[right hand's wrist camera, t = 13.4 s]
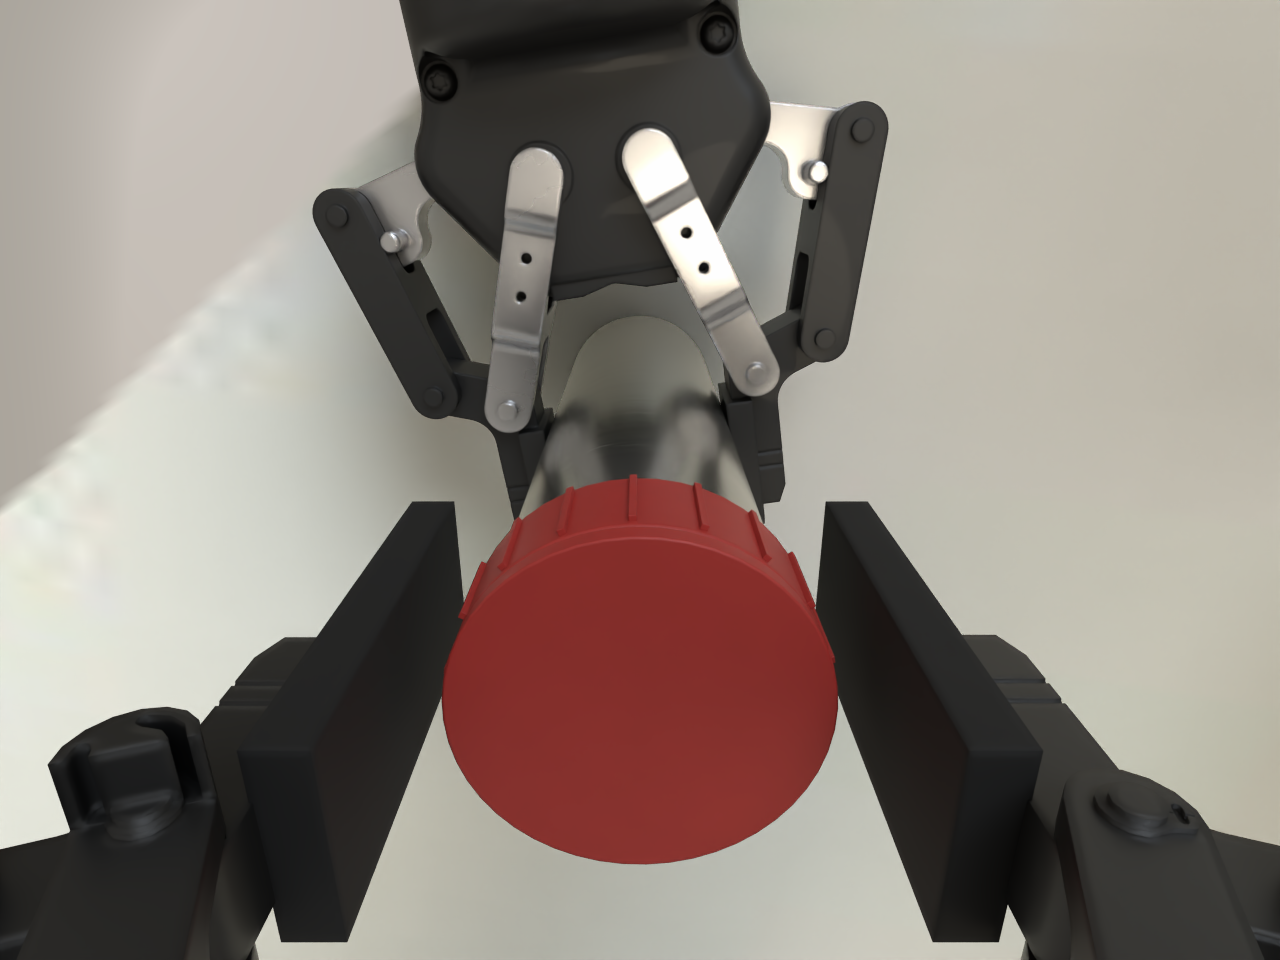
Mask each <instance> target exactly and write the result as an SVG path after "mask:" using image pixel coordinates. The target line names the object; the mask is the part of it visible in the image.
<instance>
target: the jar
mask: <svg viewBox="0 0 1280 960" xmlns="http://www.w3.org/2000/svg"><path fill="white" fill-rule="evenodd" d="M633 474H637V478H644V479H661V480H668V481H675V482H681V483H685V484H688V485H692V486H693V485H694V482H697V483H700V484H701V485H702V489H705V490H707V491H710V492H712V493H715V494H717V495H719V496H722V497H724V498H726V499H728V500H729V501H731V502H733V503H734V504H736V505H738V506H740V507H741V508H743V509H745V510H746V511H747V512H749V511H750V510H751V509H752V510H753V511H755V512H756V513H757V515H758V518H759V521H760V522H761V523H762V524H763V522H762V520H761V517H760V514H759V511H758V508H757V506H756V503H755V500H754V497H753V494H752V492H751V489H750V486H749V483H748V480H747V478H746V475H745V472H744V469H743V466H742V464H741V461H740V458H739V455H738V452H737V450H736V447H735V444H734V441H733V438H732V436H731V433H730V430H729V427H728V425H727V422H726V419H725V416H724V413H723V411H722V408H721V405H720V402H719V399H718V397H717V394H716V391H715V388H714V385H713V383H712V380H711V377H710V374H709V371H708V369H707V366H706V363H705V360H704V357H703V355H702V353H701V351H700V349H699V348H698V346H697V345H696V343H695V342H694V341H693V340H692V338H691V337H690V336H689V335H688V334H687V333H685V332H684V331H683V330H682V329H681V328H679V327H677V326H676V325H674V324H673V323H670V322H668V321H666V320H663V319H660V318H657V317H651V316H639V315H637V316H628V317H623V318H619V319H617V320H614V321H611V322H609V323H607V324H606V325H604V326H602V327H601V328H599V329H598V330H597V331H595V332H594V333H593V334H592V335H591V336H590V337H589V338H588V339H587V341H586V342H585V343H584V344H583V346H582V347H581V349H580V351H579V352H578V355H577V357H576V359H575V362H574V365H573V368H572V370H571V373H570V376H569V379H568V382H567V384H566V387H565V390H564V393H563V395H562V398H561V401H560V404H559V407H558V409H557V412H556V415H555V418H554V421H553V423H552V426H551V429H550V432H549V435H548V437H547V440H546V443H545V446H544V449H543V451H542V454H541V457H540V460H539V463H538V465H537V468H536V471H535V474H534V476H533V479H532V482H531V485H530V488H529V490H528V493H527V496H526V499H525V502H524V504H523V507H522V510H521V513H520V516H519V518H520V519H522V520H523V519H524V518H525V517H526V516H527V515H529V514H530V513H532V512H533V511H534V510H536V509H537V508H539V507H540V506H542V505H543V504H545V503H547V502H549V501H551V500H553V499H555V498H557V497H559V496H561V495H563V494H564V493H565V492H566V488H569V487H571V486H573V488H574V490H576V489H578V488H581V487H584V486H587V485H591V484H596V483H601V482H605V481H610V480H620V479H629V476H630V475H633Z"/></svg>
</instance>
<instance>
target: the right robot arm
mask: <svg viewBox="0 0 1280 960" xmlns="http://www.w3.org/2000/svg"><path fill="white" fill-rule="evenodd" d="M463 604H464V600H463V590H462V579H461V568H460V558H459V547H458V536H457V526H456V515H455V505H454V502H412V503H411V504H410V506H409V507H408V508H407V510H406V511H405V513H404V514H403V516H402V517H401V518H400V520H399V521H398V523H397V524H396V525H395V527H394V528H393V530H392V531H391V533H390V534H389V535H388V537H387V538H386V540H385V541H384V542H383V544H382V545H381V547H380V548H379V550H378V551H377V552H376V554H375V555H374V557H373V558H372V559H371V561H370V562H369V564H368V565H367V567H366V568H365V569H364V571H363V572H362V574H361V575H360V576H359V578H358V579H357V581H356V582H355V584H354V585H353V586H352V588H351V589H350V591H349V592H348V594H347V595H346V596H345V598H344V599H343V601H342V602H341V603H340V605H339V606H338V608H337V609H336V611H335V612H334V613H333V615H332V616H331V618H330V619H329V620H328V622H327V623H326V625H325V626H324V628H323V629H322V630H321V632H320V633H319V635H318V636H317V637H285V638H283V639H282V640H280V641H279V642H277V643H276V644H274V645H273V646H271V647H270V648H268V649H267V650H265V651H264V652H262V653H261V654H259V655H258V656H256V657H255V658H254V659H253V660H252V661H251V662H250V664H249V665H248V666H247V667H246V669H245V670H244V671H243V672H242V674H241V675H240V676H239V677H238V679H237V680H236V681H235V686H231V687H230V689H229V690H228V691H227V692H226V694H225V695H224V696H223V697H222V698H221V700H220V701H219V702H220V703H219V706H215V707H214V708H213V710H212V711H211V712H210V713H209V715H208V716H207V717H206V718H205V720H204V721H203V722H202V723H201V725H200V722H199V719H197V718H196V717H195V716H193V715H192V714H191V713H190V712H188V711H187V710H181V709H176V708H171V707H160V708H148V709H140V710H136V711H133V712H129V713H126V714H122V715H118V716H115V717H112V718H110V719H108V720H106V721H103V722H101V723H99V724H97V725H95V726H93V727H91V728H89V729H86V730H85V731H83V732H82V733H80V734H79V735H78V736H76V737H75V738H73V739H72V740H71V741H69V742H68V743H67V744H65V745H64V746H62V747H61V749H60V750H59V751H58V752H57V754H56V755H55V756H54V757H53V759H52V760H51V761H50V762H49V764H48V767H49V770H50V773H51V776H52V779H53V782H54V785H55V788H56V791H57V793H58V796H59V799H60V802H61V805H62V808H63V811H64V814H65V817H66V819H67V822H68V825H69V828H70V832H69V833H67V834H63V835H60V836H57V837H52V838H48V839H44V840H39V841H35V842H30V843H26V844H22V845H17V846H13V847H9V848H4V849H0V960H259V958H258V953H257V949H256V945H255V941H256V939H257V937H258V935H259V933H260V931H261V929H262V927H263V925H264V923H265V921H266V919H267V917H268V915H269V913H270V911H271V909H272V908H273V909H274V914H275V918H276V922H277V926H278V931H279V935H280V939H281V942H347V941H348V939H349V936H350V933H351V931H352V928H353V926H354V923H355V920H356V918H357V915H358V913H359V910H360V907H361V905H362V902H363V900H364V897H365V894H366V892H367V889H368V887H369V884H370V881H371V879H372V876H373V874H374V871H375V868H376V866H377V863H378V861H379V858H380V855H381V853H382V850H383V847H384V845H385V842H386V840H387V837H388V834H389V832H390V829H391V827H392V824H393V821H394V819H395V816H396V814H397V811H398V808H399V806H400V803H401V801H402V798H403V795H404V793H405V790H406V788H407V785H408V782H409V780H410V777H411V775H412V772H413V769H414V767H415V764H416V761H417V759H418V756H419V754H420V751H421V748H422V746H423V743H424V741H425V738H426V735H427V733H428V730H429V728H430V725H431V722H432V720H433V717H434V715H435V712H436V709H437V707H438V704H439V702H440V699H441V696H442V688H443V677H444V667H445V665H446V662H447V660H448V657H449V654H450V651H451V649H452V646H453V644H454V642H455V639H456V636H457V634H458V632H459V629H460V627H461V624H462V622H463V619H460V618H458V616H459V614H460V611H461V609H462V606H463ZM816 612H817V615H818V617H819V620H820V622H821V625H822V627H823V630H824V632H825V635H826V637H827V639H828V642H829V644H830V647H831V649H832V652H833V654H834V657H835V663H833V664H834V668H835V674H836V680H837V686H838V696H839V699H840V702H841V704H842V707H843V709H844V712H845V715H846V717H847V720H848V722H849V725H850V728H851V730H852V733H853V735H854V738H855V741H856V743H857V746H858V748H859V751H860V754H861V756H862V759H863V761H864V764H865V767H866V769H867V772H868V774H869V777H870V780H871V782H872V785H873V788H874V790H875V793H876V795H877V798H878V801H879V803H880V806H881V808H882V811H883V814H884V816H885V819H886V821H887V824H888V827H889V829H890V832H891V834H892V837H893V840H894V842H895V845H896V847H897V850H898V853H899V855H900V858H901V860H902V863H903V866H904V868H905V871H906V874H907V876H908V879H909V881H910V884H911V887H912V889H913V892H914V894H915V897H916V900H917V902H918V905H919V907H920V910H921V913H922V915H923V918H924V920H925V923H926V926H927V928H928V931H929V933H930V936H931V939H932V941H933V942H999V939H1000V935H1001V931H1002V926H1003V922H1004V918H1005V914H1006V909H1007V905H1008V906H1009V908H1010V909H1011V911H1012V913H1013V915H1014V917H1015V919H1016V921H1017V923H1018V925H1019V927H1020V929H1021V931H1022V933H1023V935H1024V937H1025V939H1026V941H1025V945H1024V949H1023V953H1022V957H1021V960H1280V846H1278V845H1273V844H1269V843H1264V842H1260V841H1256V840H1251V839H1247V838H1243V837H1238V836H1234V835H1229V834H1225V833H1221V832H1218V831H1215V830H1211V829H1209V827H1208V826H1207V824H1206V823H1205V822H1204V820H1203V819H1202V817H1201V816H1200V814H1199V813H1198V811H1197V810H1196V809H1195V808H1193V807H1192V806H1191V805H1190V804H1189V803H1187V802H1186V801H1185V800H1184V799H1182V798H1181V797H1180V796H1179V795H1178V794H1176V793H1175V792H1173V791H1171V790H1170V789H1168V788H1166V787H1164V786H1162V785H1160V784H1158V783H1156V782H1155V781H1153V780H1151V779H1149V778H1146V777H1143V776H1139V775H1136V774H1133V773H1130V772H1127V771H1124V770H1119V769H1118V768H1117V767H1116V765H1115V764H1114V763H1113V762H1112V760H1111V759H1110V758H1109V757H1108V755H1107V754H1106V753H1105V752H1104V751H1103V749H1102V748H1101V747H1100V746H1099V744H1098V743H1097V742H1096V741H1095V739H1094V738H1093V737H1092V736H1091V734H1090V733H1089V732H1088V731H1087V730H1086V728H1085V727H1084V726H1083V725H1082V723H1081V722H1080V721H1079V720H1078V718H1077V717H1076V716H1075V715H1074V714H1073V712H1072V711H1071V710H1070V709H1069V707H1068V706H1067V705H1066V704H1065V703H1062V702H1061V697H1060V696H1059V695H1058V694H1057V693H1056V691H1055V690H1054V689H1053V688H1052V686H1051V685H1050V684H1049V683H1046V682H1045V678H1044V677H1043V675H1042V674H1041V673H1040V672H1039V670H1038V669H1037V668H1036V667H1035V665H1034V664H1033V663H1032V662H1031V661H1030V659H1029V658H1028V657H1027V656H1026V655H1025V654H1024V653H1022V652H1021V651H1019V650H1018V649H1016V648H1015V647H1013V646H1012V645H1010V644H1009V643H1007V642H1006V641H1004V640H1003V639H1001V638H999V637H998V636H996V635H961V633H960V632H959V630H958V629H957V628H956V626H955V625H954V623H953V622H952V620H951V619H950V618H949V616H948V615H947V613H946V612H945V610H944V609H943V608H942V606H941V605H940V603H939V602H938V601H937V599H936V598H935V596H934V595H933V593H932V592H931V591H930V589H929V588H928V586H927V585H926V584H925V582H924V581H923V579H922V578H921V576H920V575H919V574H918V572H917V571H916V569H915V568H914V567H913V565H912V564H911V562H910V561H909V559H908V558H907V557H906V555H905V554H904V552H903V551H902V550H901V548H900V547H899V545H898V544H897V542H896V541H895V540H894V538H893V537H892V535H891V534H890V533H889V531H888V530H887V528H886V527H885V525H884V524H883V523H882V521H881V520H880V518H879V517H878V516H877V514H876V513H875V511H874V510H873V508H872V507H871V506H870V504H869V503H868V502H826V505H825V515H824V526H823V537H822V547H821V558H820V569H819V579H818V590H817V600H816Z"/></svg>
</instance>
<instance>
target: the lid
mask: <svg viewBox="0 0 1280 960" xmlns="http://www.w3.org/2000/svg"><path fill="white" fill-rule="evenodd" d="M815 606H816V605H815V603H814V600H813V598H812V595H811V593H810V591H809V588H808V586H807V583H806V581H805V579H804V576H803V574H802V571H801V569H800V566H799V564H798V562H797V559H796V557H795V555H794V553H793V552H790V553H787V552H786V551H785V549H784V548H783V546H782V545H781V544H780V542H779V541H778V540H777V538H776V537H775V536H774V535H773V534H772V533H771V532H770V531H769V530H768V529H767V528H766V527H765V526H764V525H763V524H762V523H761V522H760V521H759V518H758V515H757V513H756V512H755V511H753V510H752V509H751V510H750V511H749V512H747V511H746V510H745V509H743V508H741V507H740V506H738V505H736V504H734V503H733V502H731V501H729V500H728V499H726V498H724V497H722V496H719V495H717V494H715V493H712V492H710V491H707V490H705V489H702V485H701V484H700V483H697V482H694V485H693V486H692V485H688V484H685V483H681V482H675V481H668V480H661V479H644V478H637V474H633V475H630V476H629V479H620V480H610V481H605V482H601V483H596V484H591V485H587V486H584V487H581V488H578V489H576V490H574V488H573V486H571V487H569V488H566V492H565V493H564V494H563V495H561V496H559V497H557V498H555V499H553V500H551V501H549V502H547V503H545V504H543V505H542V506H540V507H539V508H537V509H536V510H534V511H533V512H532V513H530V514H529V515H527V516H526V517H525V518H524V519H523V520H522V519H520V518H519V517H518V518H517V519H515V520H514V522H513V525H512V527H511V530H510V531H509V533H508V534H507V535H506V536H505V537H504V539H503V540H502V541H501V542H500V543H499V545H498V546H497V547H496V549H495V550H494V552H493V554H492V555H491V557H490V558H489V560H488V562H487V563H484V562H481V564H480V566H479V568H478V570H477V573H476V575H475V577H474V580H473V582H472V585H471V587H470V589H469V592H468V594H467V597H466V599H465V601H464V604H463V606H462V609H461V611H460V614H459V616H458V618H460V619H463V622H462V624H461V627H460V629H459V632H458V634H457V636H456V639H455V642H454V644H453V646H452V649H451V651H450V654H449V657H448V660H447V662H446V665H445V667H444V677H443V688H442V711H443V721H444V726H445V730H446V734H447V738H448V742H449V745H450V747H451V750H452V752H453V755H454V757H455V760H456V762H457V764H458V766H459V767H460V769H461V771H462V773H463V774H464V776H465V778H466V780H467V781H468V782H469V784H470V785H471V786H472V788H473V789H474V790H475V791H476V793H477V794H478V795H479V797H480V798H481V799H482V800H483V801H484V802H485V803H486V804H487V805H488V806H489V807H490V808H491V809H492V810H493V811H494V812H495V813H496V814H498V815H499V816H500V817H502V818H503V819H504V820H505V821H507V822H508V823H509V824H511V825H512V826H513V827H515V828H516V829H518V830H520V831H521V832H523V833H525V834H526V835H528V836H530V837H531V838H533V839H535V840H537V841H539V842H542V843H544V844H546V845H548V846H550V847H552V848H555V849H558V850H561V851H564V852H567V853H570V854H573V855H576V856H580V857H584V858H588V859H593V860H597V861H604V862H612V863H620V864H658V863H670V862H676V861H681V860H687V859H693V858H696V857H700V856H703V855H707V854H710V853H714V852H717V851H719V850H722V849H724V848H727V847H729V846H732V845H734V844H737V843H739V842H741V841H742V840H744V839H746V838H748V837H750V836H752V835H754V834H756V833H757V832H759V831H760V830H762V829H763V828H765V827H766V826H768V825H769V824H770V823H772V822H773V821H775V820H776V819H777V818H778V817H780V816H781V815H782V814H783V813H784V812H785V811H786V810H788V809H789V808H790V807H791V806H792V805H793V804H794V803H795V802H796V801H797V799H798V798H799V797H800V796H801V795H802V794H803V793H804V791H805V790H806V789H807V788H808V786H809V785H810V783H811V782H812V780H813V779H814V777H815V776H816V774H817V773H818V771H819V769H820V767H821V765H822V763H823V761H824V759H825V757H826V755H827V753H828V750H829V747H830V744H831V741H832V737H833V734H834V731H835V725H836V719H837V712H838V686H837V680H836V674H835V668H834V664H833V663H835V657H834V654H833V652H832V649H831V647H830V644H829V642H828V639H827V637H826V635H825V632H824V630H823V627H822V625H821V622H820V620H819V617H818V615H817V612H816V610H815V608H814V607H815Z"/></svg>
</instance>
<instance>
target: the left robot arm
mask: <svg viewBox="0 0 1280 960" xmlns="http://www.w3.org/2000/svg"><path fill="white" fill-rule="evenodd" d="M399 1H400V5H401V10H402V14H403V19H404V23H405V27H406V32H407V36H408V40H409V44H410V49H411V53H412V58H413V62H414V66H415V71H416V75H417V79H418V83H419V87H420V93H421V101H422V115H421V124H420V129H419V133H418V137H417V140H416V144H415V153H414V158H415V161H414V162H411V163H409V164H407V165H405V166H403V167H401V168H399V169H397V170H395V171H392V172H390V173H388V174H386V175H384V176H382V177H380V178H378V179H376V180H373V181H371V182H369V183H367V184H365V185H363V186H361V187H359V188H336V189H328V190H326V191H323V192H322V193H321V194H320V195H319V196H318V197H317V198H316V200H315V202H314V205H313V219H314V222H315V224H316V226H317V228H318V230H319V232H320V234H321V236H322V238H323V239H324V241H325V243H326V245H327V247H328V249H329V250H330V252H331V254H332V256H333V258H334V260H335V262H336V263H337V265H338V267H339V269H340V271H341V273H342V274H343V276H344V278H345V280H346V282H347V284H348V286H349V287H350V289H351V291H352V293H353V295H354V297H355V298H356V300H357V302H358V304H359V306H360V308H361V310H362V311H363V313H364V315H365V317H366V319H367V321H368V322H369V324H370V326H371V328H372V330H373V332H374V334H375V335H376V337H377V339H378V341H379V343H380V345H381V346H382V348H383V350H384V352H385V354H386V356H387V358H388V359H389V361H390V363H391V365H392V367H393V369H394V370H395V372H396V374H397V376H398V378H399V380H400V382H401V383H402V385H403V387H404V389H405V391H406V393H407V394H408V396H409V398H410V400H411V402H412V404H413V405H414V407H415V409H416V410H417V411H418V412H419V413H420V414H422V415H423V416H425V417H428V418H431V419H442V418H445V417H447V416H454V417H459V418H464V419H470V420H474V421H477V422H479V423H481V424H483V425H484V426H486V427H487V428H488V429H489V430H490V431H491V433H492V434H493V436H494V438H495V440H496V443H497V447H498V452H499V456H500V460H501V465H502V469H503V473H504V478H505V482H506V486H507V489H508V495H509V499H510V502H511V508H512V512H513V516H514V520H515V519H517V518H518V517H519V516H520V513H521V510H522V507H523V504H524V502H525V499H526V496H527V493H528V490H529V488H530V485H531V482H532V479H533V476H534V474H535V471H536V468H537V465H538V463H539V460H540V457H541V454H542V451H543V449H544V446H545V443H546V440H547V437H548V435H549V432H550V429H551V426H552V423H553V421H554V414H553V409H552V408H547V409H544V408H543V403H542V398H541V393H542V387H543V381H544V374H545V368H546V361H547V355H548V348H549V342H550V336H551V331H552V327H553V323H554V318H555V312H556V306H557V301H558V300H565V299H571V298H578V297H584V296H586V295H588V294H590V293H592V292H595V291H597V290H599V289H601V288H603V287H606V286H608V285H610V284H613V283H619V284H628V285H637V286H645V287H648V286H654V285H660V284H667V283H673V282H677V277H680V279H681V281H682V283H683V285H684V287H685V289H686V291H687V293H688V295H689V297H690V299H691V300H692V302H693V304H694V306H695V308H696V310H697V312H698V314H699V316H700V318H701V320H702V322H703V324H704V325H705V327H706V329H707V331H708V333H709V335H710V337H711V339H712V341H713V343H714V345H715V347H716V349H717V351H718V353H719V355H720V357H721V359H722V361H723V367H724V375H725V383H718V387H719V396H720V404H721V408H722V411H723V413H724V416H725V419H726V422H727V425H728V427H729V430H730V433H731V436H732V438H733V441H734V444H735V447H736V450H737V452H738V455H739V458H740V461H741V464H742V466H743V469H744V472H745V475H746V478H747V480H748V483H749V486H750V489H751V492H752V494H753V497H754V500H755V503H756V506H757V508H758V511H759V514H760V517H761V520H762V522H763V524H764V523H765V516H764V506H763V504H765V503H773V502H780V499H781V496H782V493H783V490H784V487H785V474H784V465H783V453H782V442H781V432H780V421H779V410H778V393H779V390H780V388H781V386H782V384H783V382H784V381H785V380H786V379H787V378H788V377H789V376H790V375H791V374H793V373H795V372H796V371H798V370H800V369H802V368H804V367H806V366H808V365H810V364H812V363H814V362H829V361H832V360H834V359H836V358H838V357H839V356H840V355H841V354H842V353H843V352H844V350H845V349H846V347H847V345H848V341H849V336H850V331H851V325H852V320H853V315H854V310H855V304H856V299H857V294H858V288H859V283H860V278H861V272H862V267H863V262H864V257H865V251H866V246H867V241H868V235H869V230H870V225H871V220H872V214H873V209H874V204H875V198H876V193H877V188H878V183H879V177H880V172H881V167H882V161H883V156H884V151H885V146H886V140H887V135H888V120H887V117H886V114H885V113H884V111H883V110H882V109H881V107H879V106H878V105H877V104H875V103H872V102H869V101H860V102H856V103H850V104H847V105H844V106H841V107H838V108H835V107H825V106H815V105H805V104H796V103H786V102H776V101H769V97H768V94H767V92H766V89H765V87H764V86H763V84H762V82H761V81H760V80H759V78H758V76H757V75H756V73H755V72H754V70H753V69H752V67H751V64H750V62H749V60H748V58H747V55H746V52H745V50H744V46H743V42H742V37H741V30H740V21H739V10H738V0H399ZM763 145H764V146H767V147H769V148H771V149H772V150H773V151H774V152H775V153H776V154H777V156H778V158H779V160H780V163H781V177H782V182H783V185H784V187H785V189H786V190H787V191H788V192H789V193H790V194H791V195H793V196H794V197H797V198H801V199H803V204H802V210H801V217H800V223H799V229H798V236H797V242H796V249H795V255H794V261H793V268H792V274H791V280H790V287H789V293H788V299H787V306H786V312H785V313H783V314H781V315H779V316H778V317H776V318H774V319H772V320H770V321H768V322H766V323H764V324H763V325H761V326H760V325H759V323H758V321H757V319H756V317H755V315H754V313H753V311H752V308H751V306H750V304H749V302H748V299H747V296H746V294H745V292H744V290H743V287H742V285H741V283H740V281H739V279H738V277H737V275H736V273H735V271H734V269H733V267H732V265H731V263H730V261H729V259H728V257H727V254H726V252H725V250H724V248H723V246H722V244H721V242H720V240H719V238H718V236H717V232H718V230H719V228H720V226H721V224H722V222H723V221H724V219H725V217H726V215H727V213H728V211H729V209H730V207H731V205H732V203H733V201H734V200H735V198H736V196H737V194H738V192H739V190H740V188H741V186H742V184H743V182H744V181H745V179H746V177H747V175H748V173H749V171H750V169H751V167H752V165H753V163H754V162H755V160H756V158H757V156H758V154H759V152H760V150H761V148H762V146H763ZM435 201H436V202H437V203H438V204H439V205H440V206H441V207H442V208H443V209H444V210H445V211H446V212H447V213H448V214H449V215H450V216H451V217H452V218H453V219H454V220H455V221H456V222H457V223H458V224H459V225H460V226H461V227H462V228H463V229H464V230H465V231H466V232H467V233H468V234H469V235H471V236H472V237H473V238H474V239H475V240H476V241H477V242H478V243H479V244H480V245H481V246H482V247H483V248H484V249H485V250H486V251H487V252H488V253H489V254H490V255H491V256H492V257H493V258H494V259H495V260H496V261H497V262H498V263H499V264H500V265H499V273H498V281H497V288H496V296H495V304H494V312H493V320H492V329H491V339H492V353H491V361H490V365H487V364H482V363H477V362H472V361H471V360H470V358H469V356H468V354H467V352H466V350H465V348H464V346H463V344H462V342H461V340H460V338H459V336H458V334H457V332H456V330H455V328H454V326H453V324H452V322H451V320H450V318H449V316H448V314H447V312H446V310H445V308H444V306H443V305H442V303H441V301H440V299H439V297H438V295H437V293H436V291H435V289H434V287H433V285H432V283H431V281H430V279H429V277H428V275H427V273H426V271H425V269H424V267H423V265H422V263H421V261H420V260H421V259H423V258H424V257H425V256H426V255H427V254H428V252H429V250H430V248H431V243H432V237H431V233H430V230H429V227H428V212H429V209H430V207H431V205H432V204H433V203H434V202H435Z"/></svg>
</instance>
